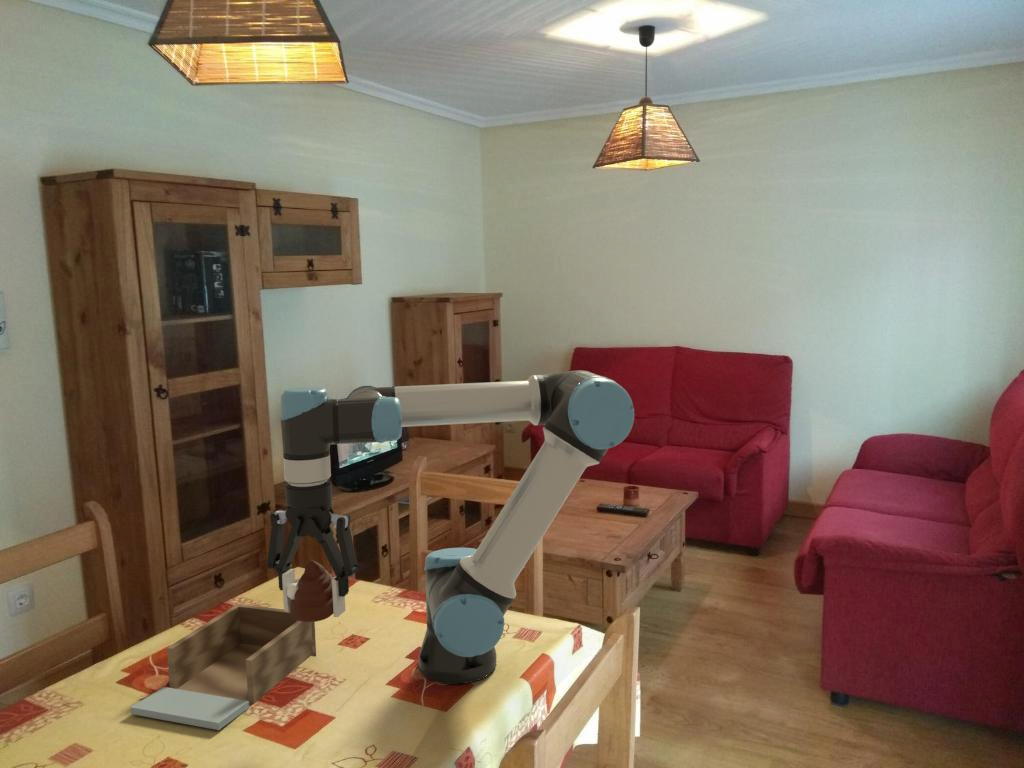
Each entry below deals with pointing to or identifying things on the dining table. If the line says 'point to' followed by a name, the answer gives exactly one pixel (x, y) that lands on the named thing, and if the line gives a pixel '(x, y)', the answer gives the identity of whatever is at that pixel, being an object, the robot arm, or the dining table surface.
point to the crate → (241, 653)
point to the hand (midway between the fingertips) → (314, 610)
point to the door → (190, 708)
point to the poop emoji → (311, 594)
